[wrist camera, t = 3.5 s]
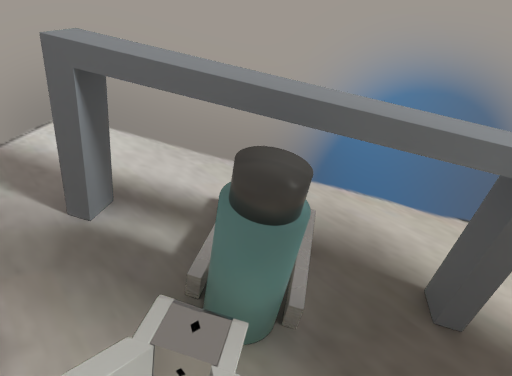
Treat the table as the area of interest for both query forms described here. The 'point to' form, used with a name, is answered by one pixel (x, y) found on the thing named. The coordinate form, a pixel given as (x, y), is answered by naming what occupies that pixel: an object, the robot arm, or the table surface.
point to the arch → (291, 110)
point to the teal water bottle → (258, 237)
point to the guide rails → (296, 285)
